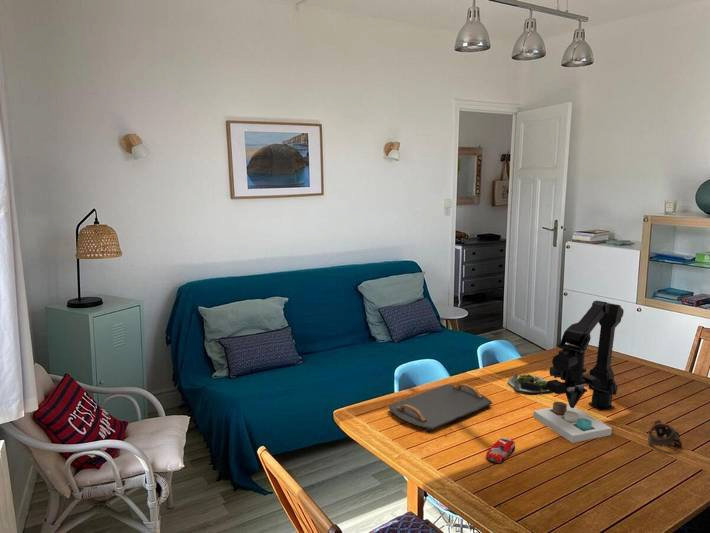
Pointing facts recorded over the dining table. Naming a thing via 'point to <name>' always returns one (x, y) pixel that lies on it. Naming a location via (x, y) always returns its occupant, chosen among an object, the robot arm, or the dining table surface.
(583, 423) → the key teal
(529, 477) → the dining table surface
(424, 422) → the serving board
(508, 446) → the race car
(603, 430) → the keypad
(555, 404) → the key walnut
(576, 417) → the key ivory
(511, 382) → the salad plate
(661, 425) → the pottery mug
